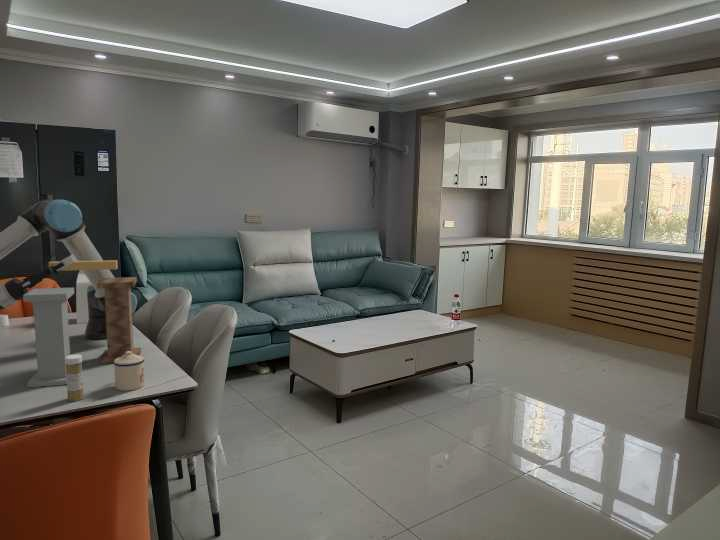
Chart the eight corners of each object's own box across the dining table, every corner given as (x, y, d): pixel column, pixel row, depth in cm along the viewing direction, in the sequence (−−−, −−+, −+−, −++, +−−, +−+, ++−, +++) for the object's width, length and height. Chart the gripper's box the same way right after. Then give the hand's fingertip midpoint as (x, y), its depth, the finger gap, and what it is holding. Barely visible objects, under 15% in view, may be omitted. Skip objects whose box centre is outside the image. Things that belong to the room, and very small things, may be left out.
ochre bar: (48, 270, 186) (48, 262, 186) (51, 269, 189) (50, 261, 188) (116, 269, 193) (116, 261, 192) (117, 268, 196) (117, 260, 195)
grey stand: (27, 387, 167) (20, 295, 163) (38, 374, 179) (32, 288, 175) (73, 384, 171) (67, 294, 167) (81, 371, 183) (76, 287, 179)
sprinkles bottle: (72, 395, 161) (70, 353, 159) (87, 396, 161) (84, 354, 159) (64, 401, 157) (61, 358, 155) (78, 402, 157) (76, 358, 155)
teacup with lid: (147, 388, 169) (146, 353, 167) (116, 393, 164) (115, 357, 162) (140, 377, 179) (139, 344, 177) (111, 381, 174) (110, 347, 172)
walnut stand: (99, 364, 191) (95, 283, 187) (105, 353, 204) (101, 277, 199) (138, 361, 195) (134, 282, 191) (141, 351, 208) (138, 276, 203)
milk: (76, 323, 249) (73, 269, 245) (77, 318, 259) (73, 266, 255) (104, 321, 255) (101, 268, 251) (103, 316, 265) (101, 265, 261)
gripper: (24, 296, 193) (84, 264, 198) (10, 305, 178) (75, 269, 183) (11, 279, 191) (72, 247, 196) (-4, 287, 176) (62, 251, 181)
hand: (73, 258), depth 189 cm, fingers closed on ochre bar, 3 cm apart
